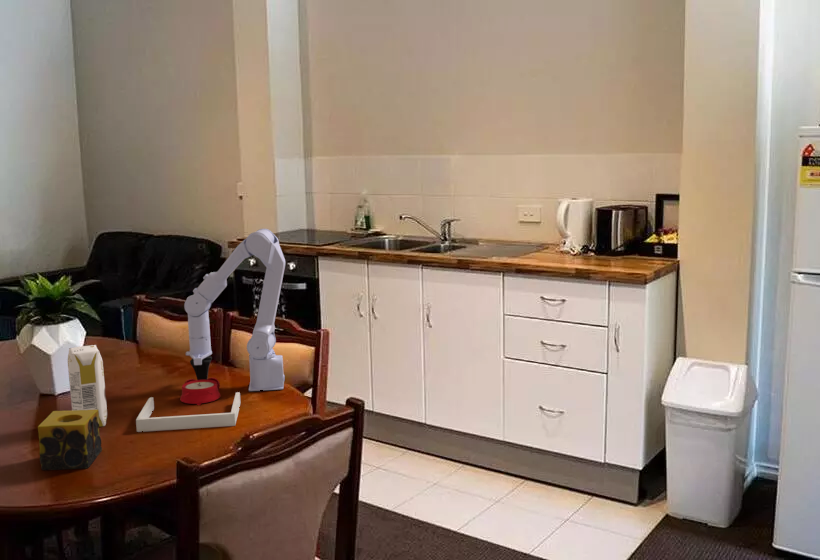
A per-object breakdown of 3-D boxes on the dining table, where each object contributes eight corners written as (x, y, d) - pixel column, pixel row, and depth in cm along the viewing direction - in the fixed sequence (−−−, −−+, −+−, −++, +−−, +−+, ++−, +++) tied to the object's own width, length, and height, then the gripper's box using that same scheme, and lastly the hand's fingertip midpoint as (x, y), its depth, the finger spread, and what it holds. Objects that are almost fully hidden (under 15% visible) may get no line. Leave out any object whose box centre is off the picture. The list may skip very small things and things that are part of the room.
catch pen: (240, 403, 211) (239, 392, 211) (235, 425, 194) (234, 413, 194) (150, 408, 208) (149, 397, 208) (136, 431, 191) (135, 419, 191)
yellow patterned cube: (56, 453, 179) (52, 410, 177) (103, 451, 180) (99, 408, 178) (39, 471, 169) (34, 426, 167) (89, 469, 170) (84, 424, 168)
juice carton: (75, 432, 192) (68, 355, 189) (72, 421, 199) (65, 347, 196) (109, 426, 195) (102, 350, 192) (104, 416, 203) (98, 343, 200)
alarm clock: (177, 394, 208) (181, 366, 222) (179, 415, 211) (183, 386, 224) (218, 391, 210) (220, 364, 224) (219, 412, 212) (222, 384, 226)
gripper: (188, 331, 230) (191, 377, 232) (181, 343, 216) (184, 391, 218) (213, 329, 231) (216, 375, 233) (207, 341, 217) (210, 390, 219)
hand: (202, 383), depth 226 cm, fingers closed
